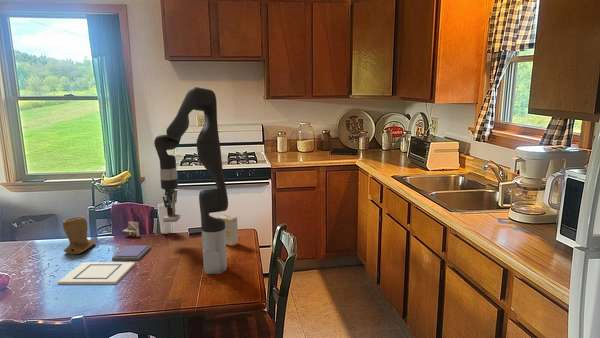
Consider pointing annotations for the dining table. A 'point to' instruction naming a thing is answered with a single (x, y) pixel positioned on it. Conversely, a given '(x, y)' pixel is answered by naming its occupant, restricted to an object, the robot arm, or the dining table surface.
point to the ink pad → (131, 253)
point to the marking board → (97, 273)
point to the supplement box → (230, 229)
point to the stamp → (174, 217)
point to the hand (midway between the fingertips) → (171, 214)
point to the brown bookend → (77, 235)
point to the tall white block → (165, 226)
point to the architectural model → (133, 229)
